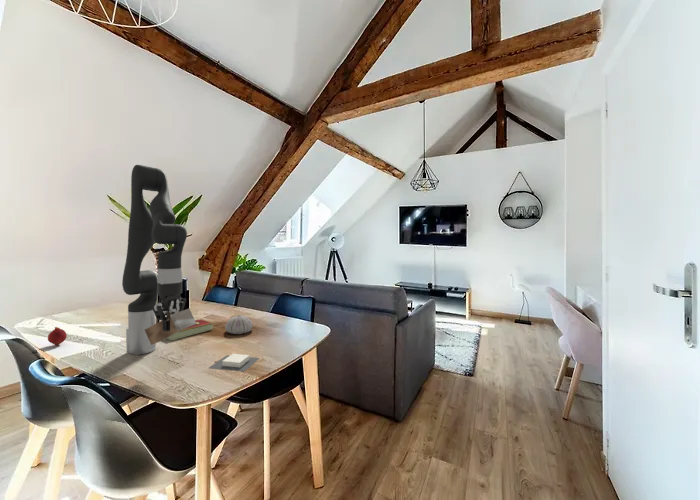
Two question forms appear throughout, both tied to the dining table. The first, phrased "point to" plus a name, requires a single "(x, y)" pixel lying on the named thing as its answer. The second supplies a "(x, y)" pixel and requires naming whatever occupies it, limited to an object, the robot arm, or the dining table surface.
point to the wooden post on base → (176, 324)
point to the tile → (235, 360)
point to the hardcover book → (193, 329)
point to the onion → (57, 336)
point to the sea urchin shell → (238, 325)
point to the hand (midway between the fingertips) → (170, 329)
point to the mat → (244, 367)
